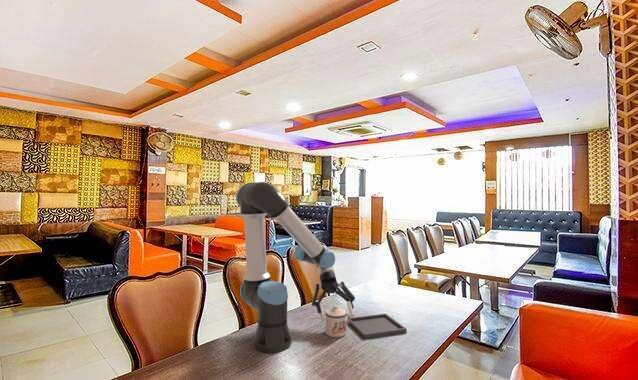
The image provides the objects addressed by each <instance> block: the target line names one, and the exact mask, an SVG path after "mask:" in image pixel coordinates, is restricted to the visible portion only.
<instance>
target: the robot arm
mask: <svg viewBox="0 0 638 380" xmlns="http://www.w3.org/2000/svg"><path fill="white" fill-rule="evenodd" d="M235 199H236V202H237V205H238V206H239V208H240V209H239V210H240V216H242V217H243V218H244V219H243V220H244V237H245V239H244V240H245V262H246V273H245V275H244V276H243V280H242V281H243V282H242V283H241V285H240V289H239V294H240V297H241V299H242V301H243V302H244V303H245V304H246V305H247V306H249V307H250V308H251V309H253V310H255V311H257V326H256V330H255V333H254V336H253V338H252V339H253V341H252V342H253V343H252V345H253V349H255V350H256V351H258V352H261V353H267V354H268V353H269V354H271V353H272V354H273V353H280V352H283V351H285V350H287V349H288V348H290V347H291V345H292V334H291V332H290V328H289V325H288V298H289V295H288V287H287V285H285V284H284V283H282V282H279V281H275V280H271V274H270V273H269V272H268V268H267V266H268V265H267V248H266V247H267V245H266V242H267V240H266V223H265V222H266V221H265V217H266V216H269V218H271V219H275V220H276V221H277V223H279V225H280V226H281V227H282V228H283V229H284V230H285V232H287V233H288V234H289V235H290V237H291V239H293V240H294V241H295V242H296V243H297V244H298V245H297V246H296V247H295V248H294V250H293V256H294V258H295V260H297V261H300V262H303V263H307V264H308V263H309V264H311V265H315V266H316V269H317V272H318V277H319V281H320V284H319V283H316V284H315V287H314V289H315V290H314V295H313V297H312V298H313V299H312V301H311V306H312V307H315V308H316V311H317V313H318V314H319V316H320V320H321V322H324V321H325V320H326V315H325V313H324V308H323V304H322V303H321V302H322V300H323V299H324V297H325V296H326V294H327V295H330V294H336V295H338V296H339V297H340V298H342V299H343V300H344V301H346V305H347V309H348V311H349V313H348V314H349V315H350V318H354V316H355V313H354V303H353V302H354V301H355V299H356V297H355V296H354V294H353V293H352V292H351V291H350V289H348V287H347V286H346V285H345V282H344V281H341V282H338V281H337V278H336V273H335V270H334V267H333V266H334V265H335V262H336V254H335V253H334V252H333V251H331V250H329V249H328V247H327V246H326V245H325V244H322V243H321V242H320V241H319V240H318V238H317V237H316V236H315V235H314V234H313V233H312V231H310V229H309V228H308V227H307V226H306V224H305V223H304V222H303V221H302V219H300V217H299V216H298V215H297V214H296V213H295V211H294V210H292V208H291V207H290V202H289V201H288V200H287V199H286V197H285V196H284V195H283V194H282V192H280V191H279V190H278V189H277V188H276V187H275V186H274V185H272V184H271V183H269V182H266V181H259V182H256V181H255V182H248V183H244V184H242V185H241V186H240V187H239V188H238V189H237V192H236V195H235ZM320 289H321V290H323V292H322V293H321V295H320V296H319V299H318V300H317V298H318V295H319V291H320Z"/></svg>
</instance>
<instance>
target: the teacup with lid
mask: <svg viewBox="0 0 638 380" xmlns="http://www.w3.org/2000/svg"><path fill="white" fill-rule="evenodd" d="M324 315H325V333H326V335H327V336H328V337H332V338H342V337H344V336H345V335H346V334H347V326H348V325H349V322H350V318H351V316H350V313H347V311H346V310H345V309H343V308H341V307H339V305H333V307H331V308H329V309H327V310H325V313H324Z"/></svg>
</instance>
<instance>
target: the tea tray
mask: <svg viewBox="0 0 638 380" xmlns="http://www.w3.org/2000/svg"><path fill="white" fill-rule="evenodd" d="M348 325H350V326H351V327H352V328H353V329H354V330H355V331H356V332H357V333H358V334H359V335H360V336H361V337H362V338H363V339H364V340H367V339H375V338H381V337H387V336H388V337H389V336H394V335H395V336H396V335H400V334H407V328H406V327H405V326H404V325H402V324H401V323H399V322H398V321H396V320H395V319H394V318H392V317H391V316H390V315H389V314H387V313H380V314H379V313H378V314H372V315H371V314H370V315H364V316H355V317H354V316H353V318H351V317H350V322H349V323H348Z"/></svg>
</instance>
